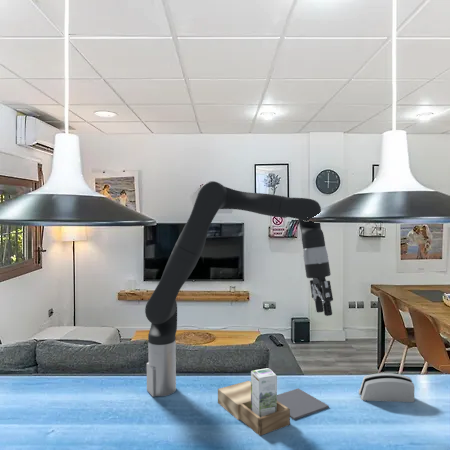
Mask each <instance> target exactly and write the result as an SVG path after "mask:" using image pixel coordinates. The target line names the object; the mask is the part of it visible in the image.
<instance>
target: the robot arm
mask: <svg viewBox="0 0 450 450" xmlns="http://www.w3.org/2000/svg"><path fill="white" fill-rule="evenodd" d="M219 210H238V211H239V210H240V211H245V212H250V213H254V214H258V215H265V216H269V217H274V218H275V217H276V218H282V219H283V218H284V219H286V218H289V219H290V218H291V219H297V220H298V224H299V228H300V232H301V233H300V234H301V244H302V250H303V252H302V253H303V256H302V257H303V261H304V262H303V263H304V270H305V275H306V276H305V277H306V278H307V279H311V280H309V284H310V286H309V287H310V291H311V298H312V299H313V300H314V304H315V311H316V313H323V315H324V316H326V317H329V316H332V315H333V310H332V305H331V303H332V302H333V301H334V298H333V291H332V286H331V281H330V280H327V279H326V277H329V276H331V275H332V274H331V268H330V262H329V255H328V251H327V247H326V241H325V235H324V232H323V229H322V227H321V222H320V223H314V222H312V221H309V222H304V221H303V220H306V221H307V220H309V219H310V218H312V217H314V216H316V215H317V214H319V213H320V212H321V213H322V207H321V205H320V203H319V202H318V201H316V199H315V200H314V199H313V198H312V199H311V198H307V197H288V196H283V195H277V194H272V193H271V194H270V193H264V192H263V193H260V192H249V191H248V192H247V191H241V190H237V189H233V188H230V187H227V186H224V185H223V184H222V183H220V182H217V181H214V180H212V181H211V180H210V181H208V182H205V183H204V184H203V185H202V186H201V187H200V188H199V190H198V193H197V196H196V199H195V202H194V204H193V208H192V210H191V213H190V215H189V218H188V219H187V220H186V223H185V224H184V227H183V228H182V231H181V232H180V234H179V236H178V239H177V240H176V242H175V244H174V247H173V249H172V251H171V254H170V256H169V257H168V260H167V262H166V265H165V267H164V270H163V272H162V276H161V278H160V280H159V282H158V284H157V286H156V287H155V289H154V291H153V292H152V294H151V296H150V298H149V299H148V301H147V302H146V303H145V308H144V309H145V310H144V313H145V317H146V319H147V320H148V321H149V322H150V323H151V324H150V328H149V331H148V332H149V333H148V334H147V335H148V337H147V338H148V339H147V340H148V342H147V345H148V349H147V350H148V352H147V353H148V358H147V359H148V362H146V391H147V392H148V393H149V394H150V396H151V397H152V398H153V397H154V398H155V397H165V396H169V395H172V394H174V393H175V392H176V390H177V372H176V371H177V367H176V366H177V365H176V359H177V357H176V356H177V354H176V346H177V345H176V335H177V329H178V303H177V298H178V295H179V292H180V291H181V289H182V287H183V285H184V284H185V283H186V281H187V280H188V278H189V277H190V276H191V274H192V272H193V270H194V269H195V268H196V266H197V264H198V261H199V259H200V257H201V256H202V253H203V251H204V247H205V244H206V241H207V237H208V232H209V229H210V226H211V224H212V222H213V220H214V218H215V216H216V215H217V213H218V211H219ZM321 213H320V214H321ZM307 217H308V218H307Z"/></svg>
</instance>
